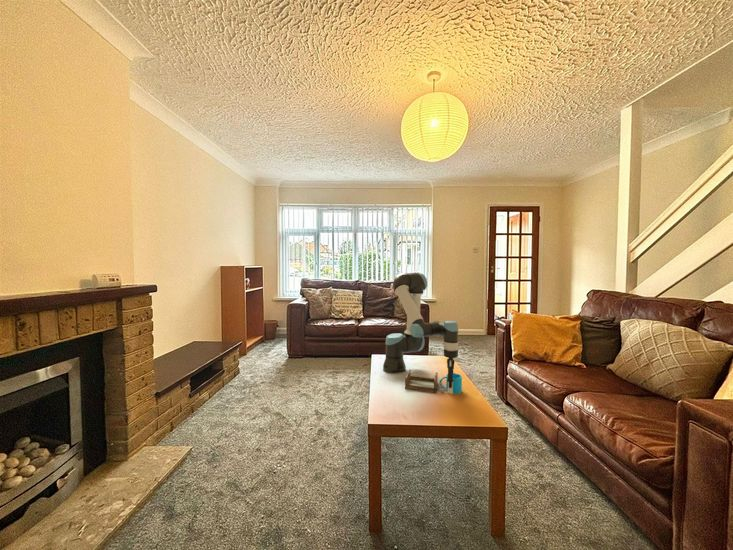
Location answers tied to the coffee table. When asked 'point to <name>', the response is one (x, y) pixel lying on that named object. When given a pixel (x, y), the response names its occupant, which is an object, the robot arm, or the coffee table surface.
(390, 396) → the coffee table surface
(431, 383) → the tray
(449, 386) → the robot arm
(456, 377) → the mug
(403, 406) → the coffee table surface
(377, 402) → the coffee table surface
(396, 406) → the coffee table surface
